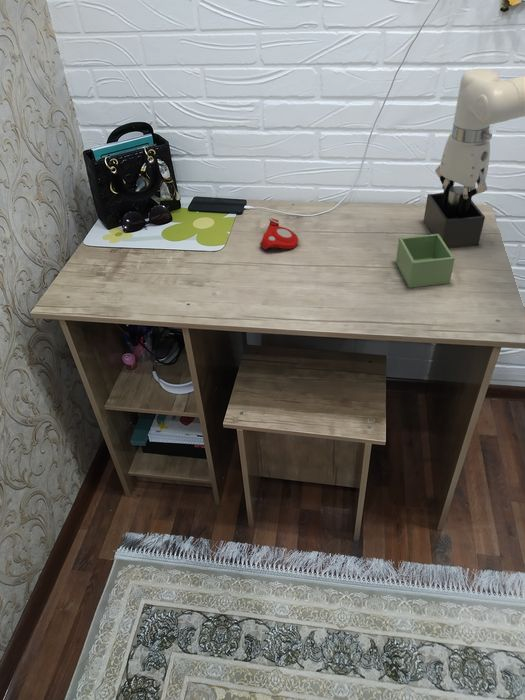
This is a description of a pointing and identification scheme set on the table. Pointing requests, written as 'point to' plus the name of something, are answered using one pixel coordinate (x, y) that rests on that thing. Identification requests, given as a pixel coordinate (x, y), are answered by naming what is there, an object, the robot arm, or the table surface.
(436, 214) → the right bin
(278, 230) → the tracker holder
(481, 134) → the robot arm
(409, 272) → the left bin
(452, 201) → the steel cylinder
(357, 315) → the table surface
